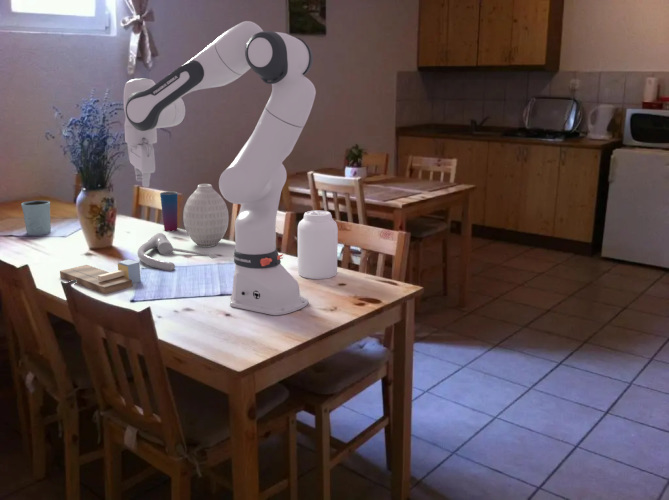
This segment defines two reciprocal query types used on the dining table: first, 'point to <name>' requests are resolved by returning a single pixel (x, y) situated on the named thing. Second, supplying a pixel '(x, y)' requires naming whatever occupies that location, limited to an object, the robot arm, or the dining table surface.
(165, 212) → the cup
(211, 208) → the vase
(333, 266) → the white jar
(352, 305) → the dining table surface
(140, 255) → the faucet
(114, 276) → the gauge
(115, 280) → the board
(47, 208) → the pale blue tumbler
